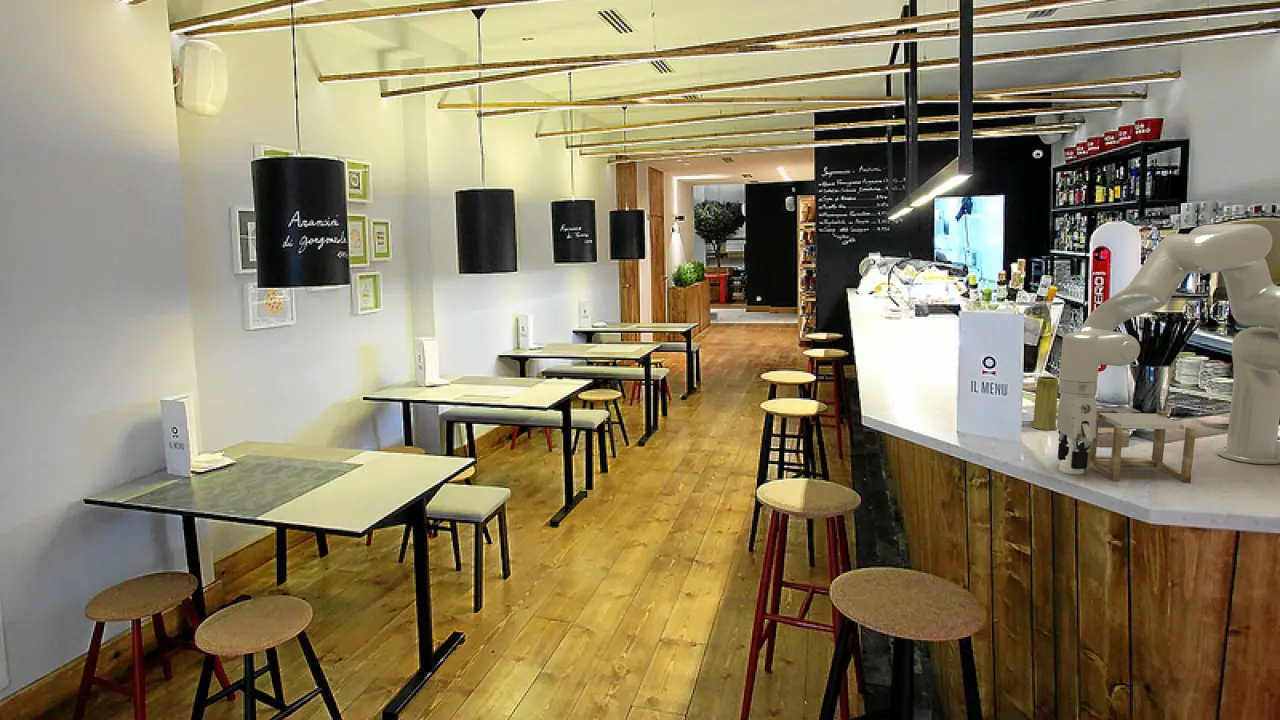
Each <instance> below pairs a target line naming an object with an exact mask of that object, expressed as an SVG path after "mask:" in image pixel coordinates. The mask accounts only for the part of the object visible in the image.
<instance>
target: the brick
mask: <svg viewBox="0 0 1280 720" xmlns="http://www.w3.org/2000/svg"><path fill="white" fill-rule="evenodd" d="M1113 433H1114V428H1098V436H1097V447H1098V448H1112V445H1113ZM1080 437H1081V438H1084V437H1083V436H1080ZM1130 440H1131V439H1130V432H1129V431H1127V430H1124V429H1123V438H1122V448H1129V447H1130V445H1129V443H1130V442H1131V441H1130Z"/></svg>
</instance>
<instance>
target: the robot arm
mask: <svg viewBox="0 0 1280 720" xmlns="http://www.w3.org/2000/svg"><path fill="white" fill-rule="evenodd" d="M1273 240H1274V239H1273V236H1272V234H1271V232H1270V231H1269V230H1268V229H1267V228H1266V227H1264V226H1263V225H1260V224H1256V223H1255V224H1253V223H1236V224H1235V223H1233V224H1232V223H1229V224H1228V223H1227V224H1226V223H1225V224H1224V223H1222V224H1221V223H1220V224H1219V223H1218V224H1217V223H1215V224H1213V223H1212V224H1204V225H1200V226H1197V227H1195V228H1193V229H1192V230H1191V231H1190V232H1189V233H1188V234H1181V233H1179V234H1173V235H1168V236H1166V237H1164V238H1162V239H1161V240H1160V241H1159V242H1158V243H1157V244H1156V245H1155V247H1154V248H1153V250H1152V252H1151V253H1150V255H1148V257H1147V259H1146V260H1145V262H1144V263H1143V265H1142V266H1141V268H1140V269H1139V270H1138V271H1137V272H1136V275H1134V277H1133V279H1132V280H1131V282H1130V283H1129V284H1128V286H1126V287H1125V288H1124V289H1122V290H1120V291H1119V292H1117V293H1115V294H1114V295H1112V296H1111V297H1109V298H1108V299H1107V300H1105V301H1104V302H1102V303H1100V304H1099V305H1098V306H1097V307H1096V308H1094V309H1093V311H1092V312H1091V313H1090V314H1089V315H1088V317H1087V318H1086V319H1085V321H1084V323H1083V324H1081V326H1080V328H1079V329H1078V331H1075V332H1068V333H1065V334H1064V336H1063V338H1062V343H1061V344H1062V345H1061V357H1060V368H1059V369H1060V371H1059V381H1058V393H1059V394H1060V396H1059V402H1058V408H1057V409H1058V410H1057V417H1056V429H1057V430H1058V435H1059V436H1058V439H1057V440H1058V442H1059V443H1058V451H1057V459H1058V460H1060V461H1061V460H1062V461H1064V460H1065V459H1066V458H1065V456H1067V455H1068V453H1069V447H1067V446H1066V445H1067V444H1069V443H1068V441H1067V436H1068V437H1070V438H1072V439H1073V444H1074V451H1072V461H1071V468H1073V469H1084V470H1087V468H1088V465H1087V462H1088V452H1089V448H1090V446H1091V443H1092V441H1093V440H1094V439H1095V438H1096V418H1097V411H1096V408H1097V399H1096V396H1097V392H1098V391H1097V390H1098V380H1099V378H1098V377H1099V370H1100V369H1099V366H1100V365H1102V366H1103V365H1104V366H1106V365H1107V366H1112V367H1113V366H1115V367H1122V366H1123V367H1124V366H1128V365H1131V364H1132V363H1133V362H1135V361H1136V360H1137V359H1138V357H1139V355H1140V353H1141V345H1140V343H1139V341H1138V339H1136V337H1134V336H1133V335H1130V334H1129V333H1125V332H1120V331H1115V329H1116V328H1118V327H1119V326H1120V325H1122V324H1123V323H1124V322H1126V321H1128V320H1130V319H1133V318H1135V317H1137V316H1141V315H1144V314H1148V313H1150V312H1153V311H1156V310H1159V309H1161V308H1163V307H1164V306H1166V305H1167V304H1168V302H1169V301H1170V299H1172V297H1173V295H1174V293H1175V292H1176V290H1177V289H1178V288H1179V286H1180V285H1181V283H1182V282H1183V281H1184V279H1186V277H1187V275H1188V274H1191V273H1192V274H1214V273H1221V274H1222V275H1221V276H1222V278H1223V281H1224V284H1225V285H1224V286H1225V289H1226V294H1227V299H1228V304H1229V308H1230V311H1231V314H1232V317H1233V319H1234V320H1235V321H1236V322H1237V323H1240V324H1243V325H1247V326H1252V327H1248V328H1245V329H1243V330H1241V331H1239V332H1238V333H1237V334H1236V335H1235V336H1234V338H1233V340H1232V343H1231V358H1232V363H1233V364H1232V365H1233V381H1232V391H1231V400H1230V401H1231V402H1230V410H1229V420H1228V427H1227V438H1226V446H1221V447H1219V448H1218V449H1217V454H1218V455H1219V456H1220V457H1223V458H1225V459H1229V460H1231V461H1232V460H1233V461H1237V462H1240V463H1247V464H1248V463H1249V464H1255V465H1256V464H1257V465H1258V464H1259V465H1279V464H1280V441H1279V440H1278V435H1279V434H1278V433H1279V426H1280V374H1279V372H1280V285H1279V286H1277V285H1276V284H1274V283H1273V280H1272V276H1271V273H1270V270H1269V266H1268V263H1267V260H1266V259H1265V258H1266V256H1267V255H1268V254H1270V251H1271V249H1272V247H1273ZM1077 436H1083V437H1084V438H1078V437H1077ZM1078 441H1081V442H1080V443H1079V444H1078ZM1078 445H1079V446H1078Z"/></svg>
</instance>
